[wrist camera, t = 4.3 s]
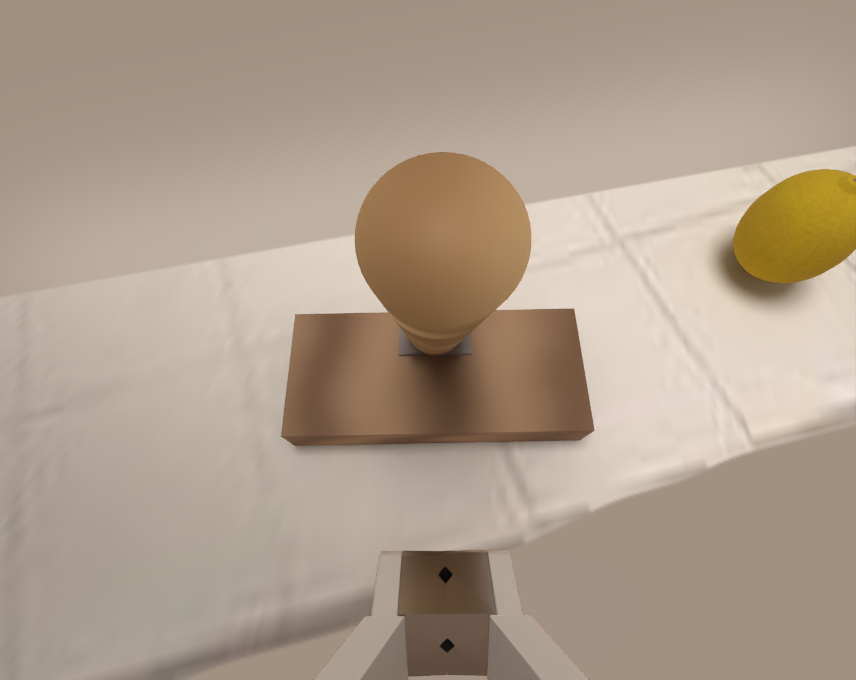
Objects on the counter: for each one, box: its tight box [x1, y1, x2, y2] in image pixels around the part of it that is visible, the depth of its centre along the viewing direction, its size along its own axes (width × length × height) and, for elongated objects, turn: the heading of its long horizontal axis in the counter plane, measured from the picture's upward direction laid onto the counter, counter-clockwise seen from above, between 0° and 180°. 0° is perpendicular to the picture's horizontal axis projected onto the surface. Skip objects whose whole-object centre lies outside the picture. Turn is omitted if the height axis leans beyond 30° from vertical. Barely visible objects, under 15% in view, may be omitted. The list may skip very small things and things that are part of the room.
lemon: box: [733, 169, 856, 283], centre depth 26 cm, size 6×6×8 cm
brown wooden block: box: [281, 309, 594, 446], centre depth 25 cm, size 16×7×3 cm, turn 91°
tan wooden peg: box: [355, 152, 531, 355], centre depth 16 cm, size 3×3×17 cm
